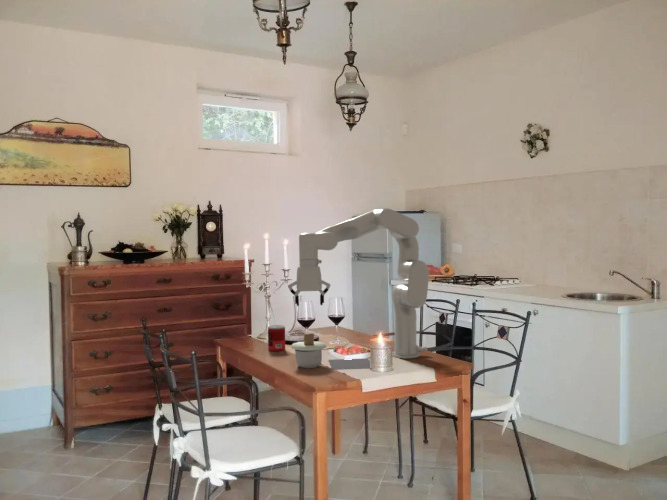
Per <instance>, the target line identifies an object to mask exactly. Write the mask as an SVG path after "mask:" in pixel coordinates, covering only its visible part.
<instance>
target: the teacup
mask: <svg viewBox="0 0 667 500" xmlns="http://www.w3.org/2000/svg"><path fill="white" fill-rule="evenodd" d="M294 351H295V353H294V354H295V360H296V361H295V362H296V364H297V365H298V366H299V367H300V368H302V369H315V368H318V367H319V365H320V364H321V363H322V359H323V355H322V354H323V353H322V349H321V350H314V351H302V350H295V349H294Z"/></svg>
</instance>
